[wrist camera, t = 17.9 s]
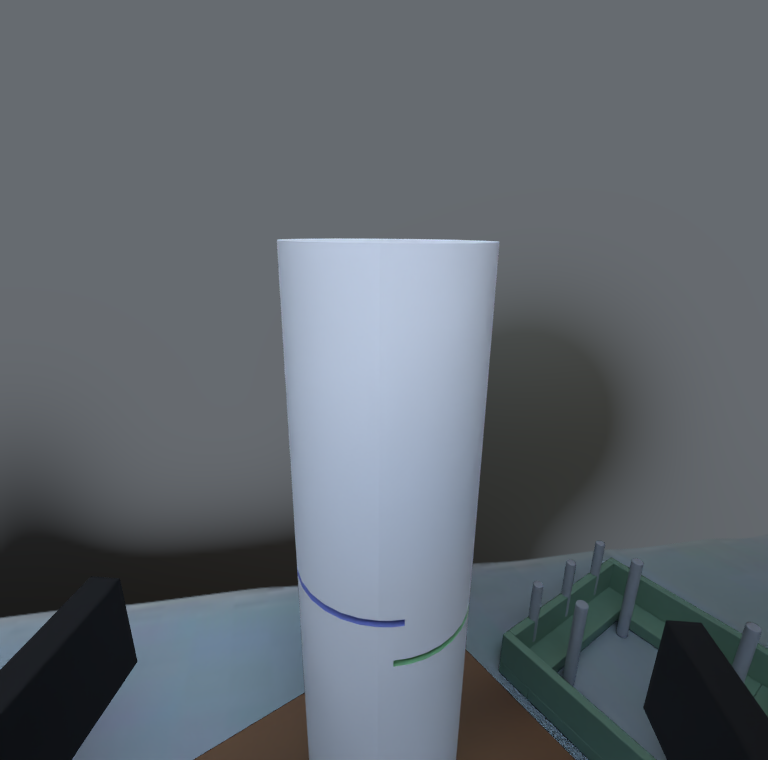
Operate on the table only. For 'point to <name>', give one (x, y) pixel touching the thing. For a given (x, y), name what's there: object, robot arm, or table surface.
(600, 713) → the drying rack
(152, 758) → the table surface
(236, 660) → the table surface
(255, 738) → the brown slab
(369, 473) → the cylindrical container
